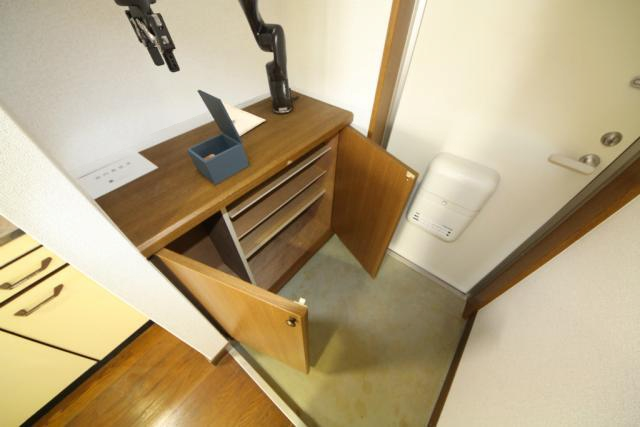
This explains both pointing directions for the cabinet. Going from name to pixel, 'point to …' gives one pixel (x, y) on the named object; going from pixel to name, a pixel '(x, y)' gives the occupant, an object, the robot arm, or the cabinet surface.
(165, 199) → the cabinet surface
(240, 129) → the white triangular panel
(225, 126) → the lid
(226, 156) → the chest
